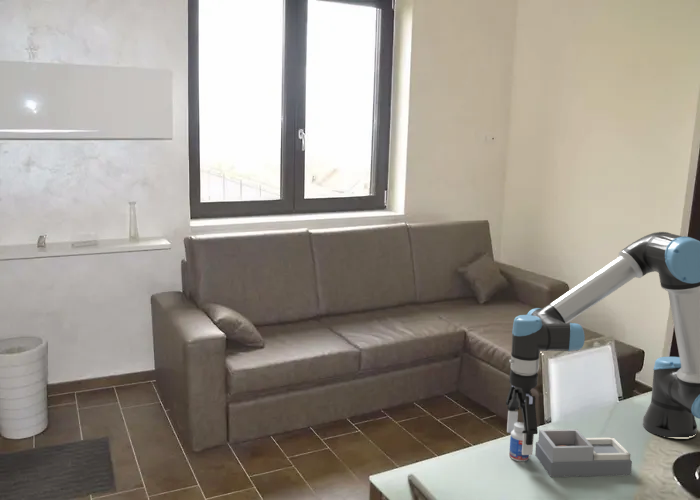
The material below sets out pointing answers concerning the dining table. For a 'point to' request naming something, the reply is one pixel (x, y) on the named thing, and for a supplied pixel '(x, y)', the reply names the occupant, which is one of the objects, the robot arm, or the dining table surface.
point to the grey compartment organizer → (581, 454)
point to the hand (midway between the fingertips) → (519, 442)
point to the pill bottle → (517, 443)
